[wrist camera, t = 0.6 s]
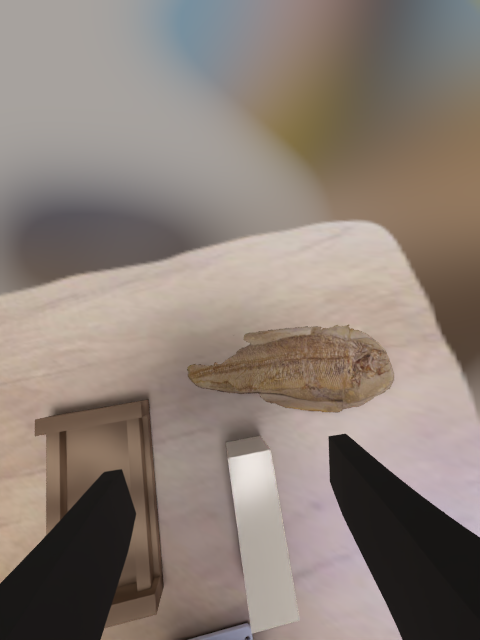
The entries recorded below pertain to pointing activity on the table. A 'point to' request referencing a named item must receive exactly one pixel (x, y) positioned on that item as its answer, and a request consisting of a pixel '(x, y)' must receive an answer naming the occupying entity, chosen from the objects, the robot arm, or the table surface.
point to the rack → (86, 467)
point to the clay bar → (261, 535)
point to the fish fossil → (303, 368)
